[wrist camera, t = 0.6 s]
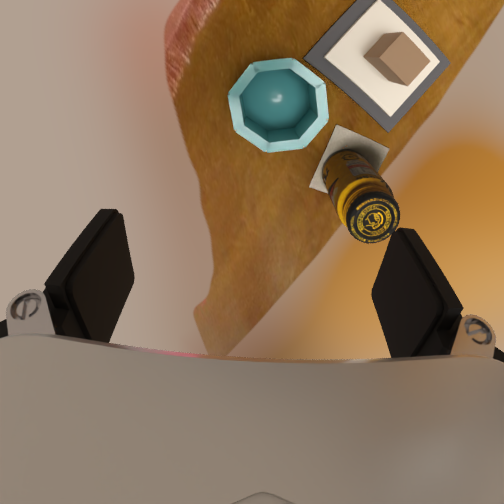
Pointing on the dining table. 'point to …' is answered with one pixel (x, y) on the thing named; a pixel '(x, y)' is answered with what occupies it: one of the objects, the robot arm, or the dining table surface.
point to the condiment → (357, 185)
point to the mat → (348, 86)
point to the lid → (382, 57)
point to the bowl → (278, 105)
